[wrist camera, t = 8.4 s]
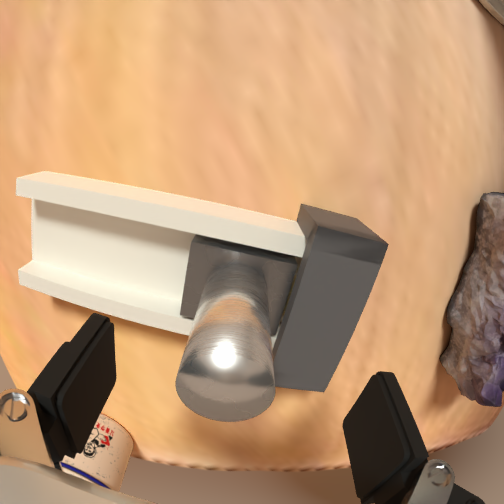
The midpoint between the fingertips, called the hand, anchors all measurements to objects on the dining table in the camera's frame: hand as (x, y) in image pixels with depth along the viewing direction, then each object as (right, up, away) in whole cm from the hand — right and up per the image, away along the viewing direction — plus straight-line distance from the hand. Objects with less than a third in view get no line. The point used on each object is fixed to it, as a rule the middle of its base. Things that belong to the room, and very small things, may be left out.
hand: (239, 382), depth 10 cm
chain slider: (+1, +2, +10) cm, 10 cm away
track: (-4, +4, +11) cm, 13 cm away
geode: (+23, +2, +12) cm, 26 cm away
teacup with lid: (-19, -17, +19) cm, 32 cm away
